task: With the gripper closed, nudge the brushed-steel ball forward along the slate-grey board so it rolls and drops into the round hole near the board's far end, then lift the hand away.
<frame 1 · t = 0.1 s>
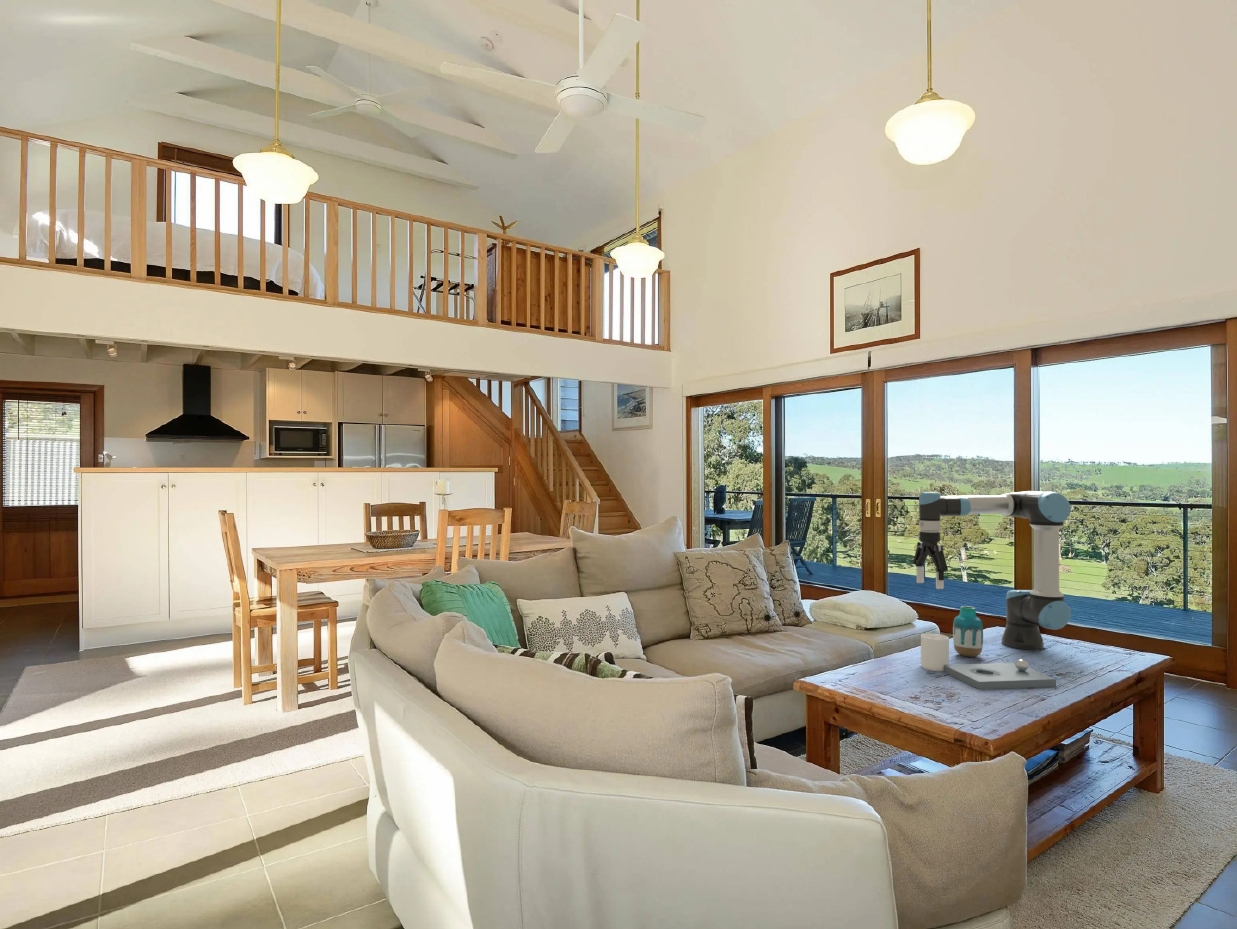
hand: (929, 585, 267), 28 cm above the table, fingers open, 13 cm apart
ball: (1021, 665, 240), point 4 cm above the table, touching deck
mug: (931, 667, 254), on the table
deck: (998, 678, 239), on the table
vase: (968, 656, 269), on the table
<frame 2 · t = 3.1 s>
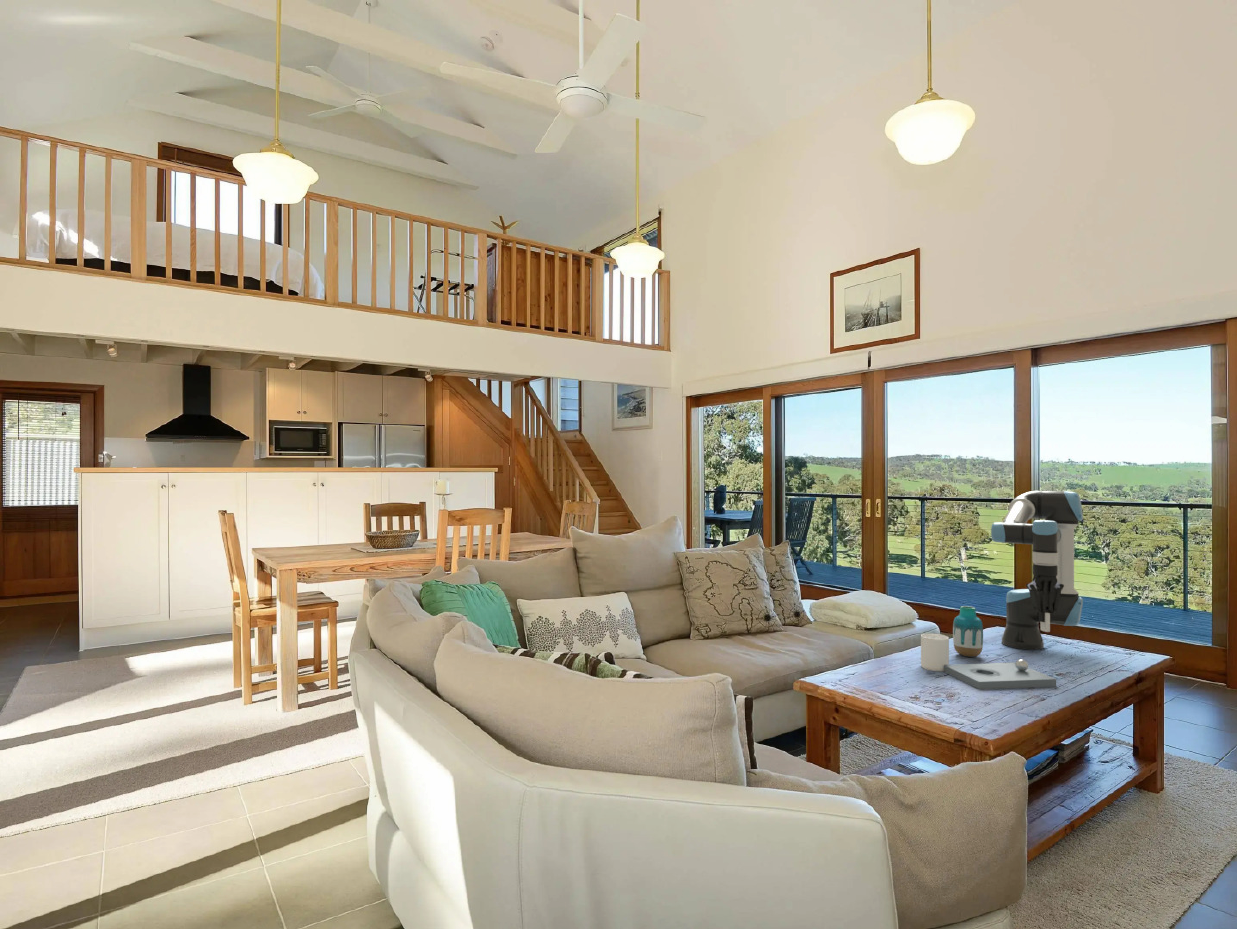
hand: (1045, 631, 241), 16 cm above the table, fingers closed
nothing on the table moved.
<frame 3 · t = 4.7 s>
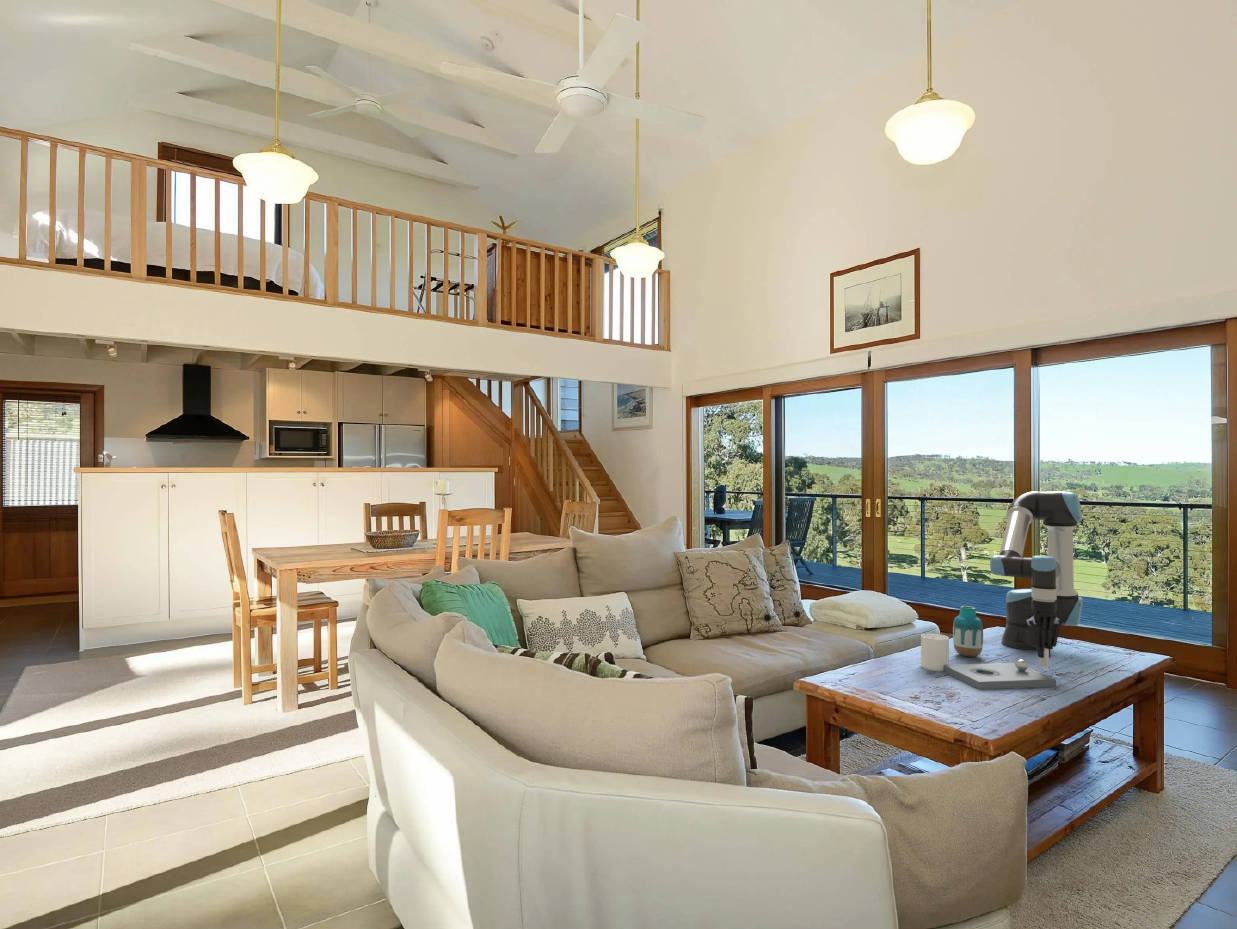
hand: (1044, 666, 241), 4 cm above the table, fingers closed
nothing on the table moved.
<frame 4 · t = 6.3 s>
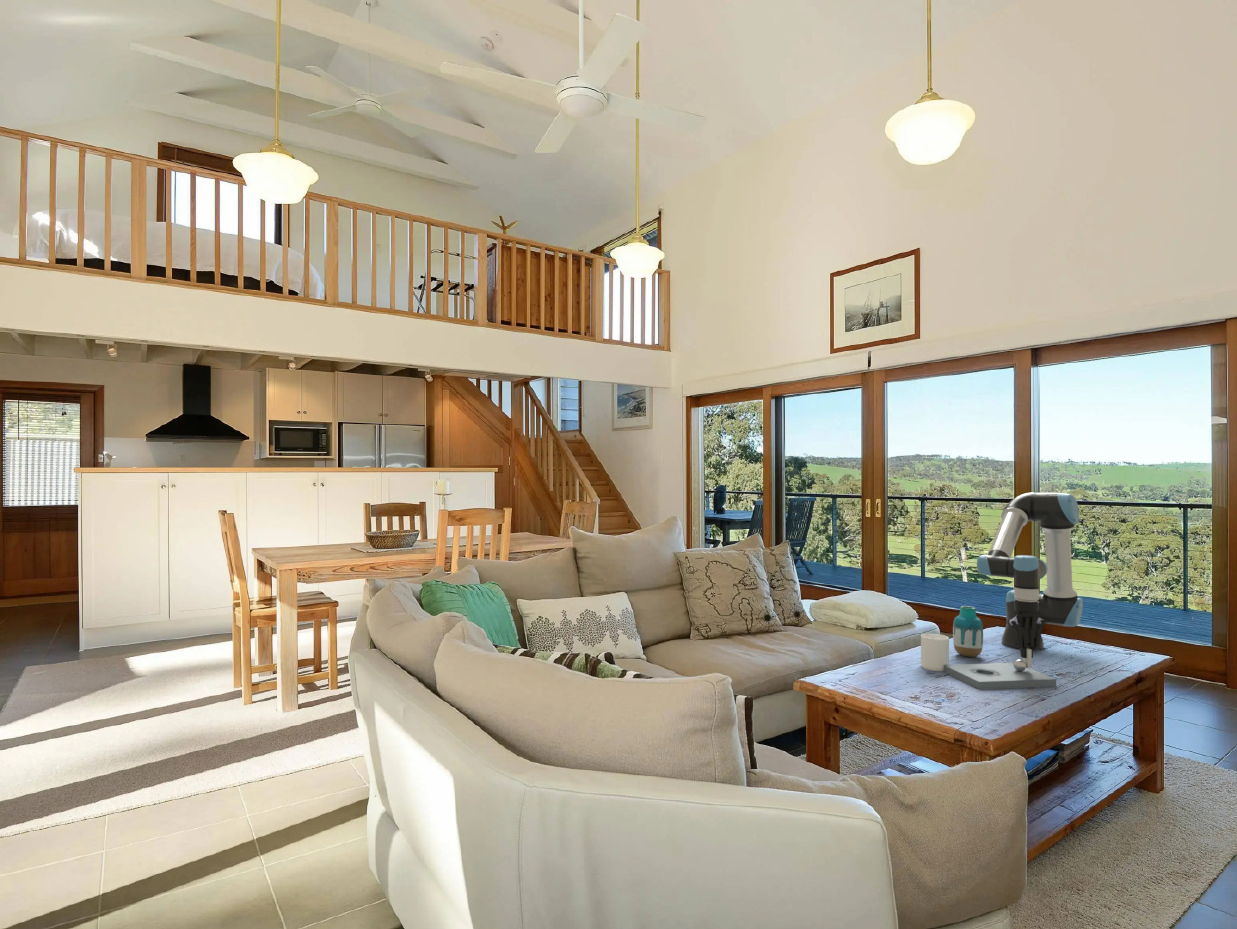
hand: (1027, 667, 240), 4 cm above the table, fingers closed
ball: (1019, 665, 240), point 4 cm above the table, tilted 24°, touching deck, gripper
everything else where it was.
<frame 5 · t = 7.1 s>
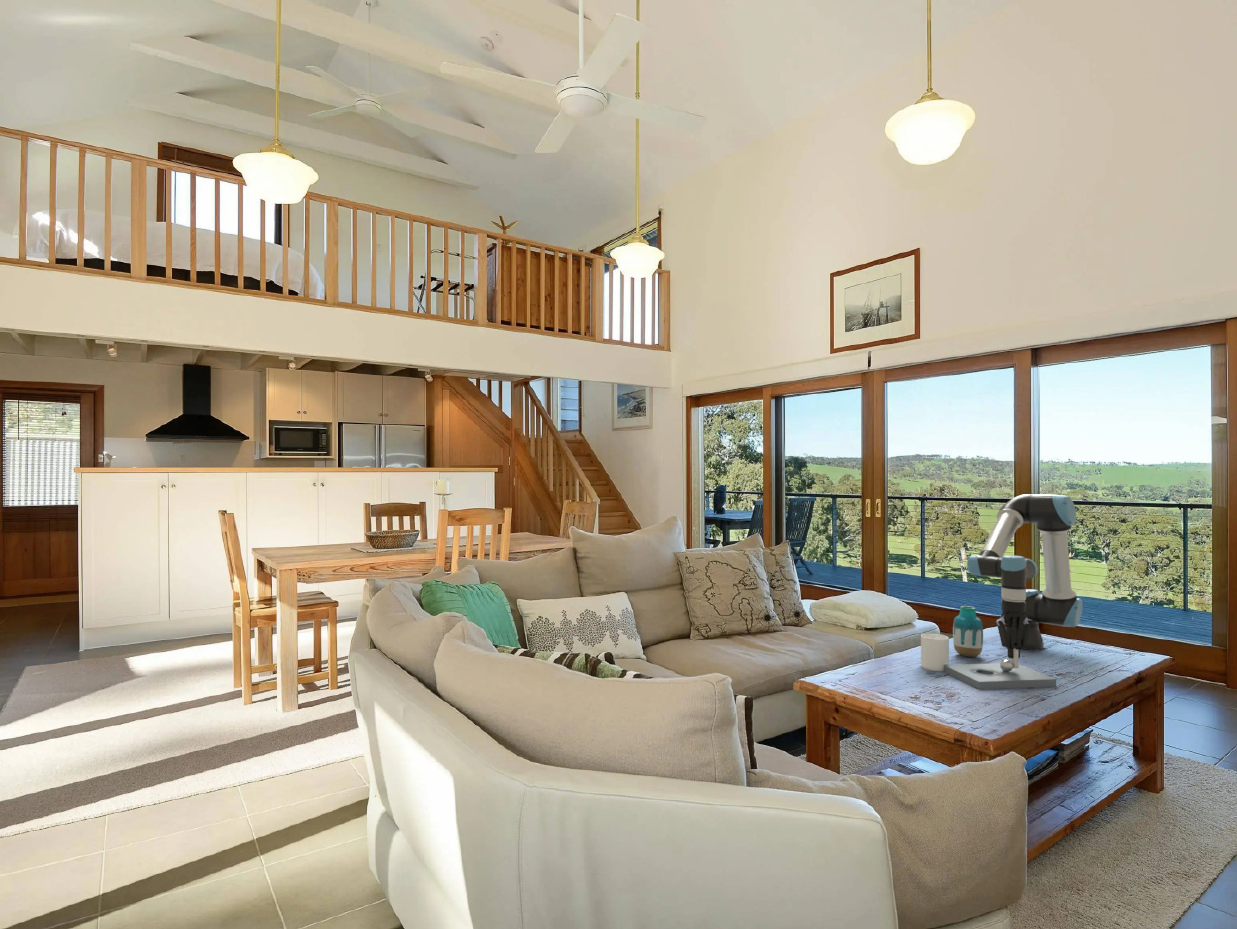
hand: (1013, 667, 240), 4 cm above the table, fingers closed
ball: (1006, 665, 240), point 4 cm above the table, tilted 152°, touching deck
everything else where it was.
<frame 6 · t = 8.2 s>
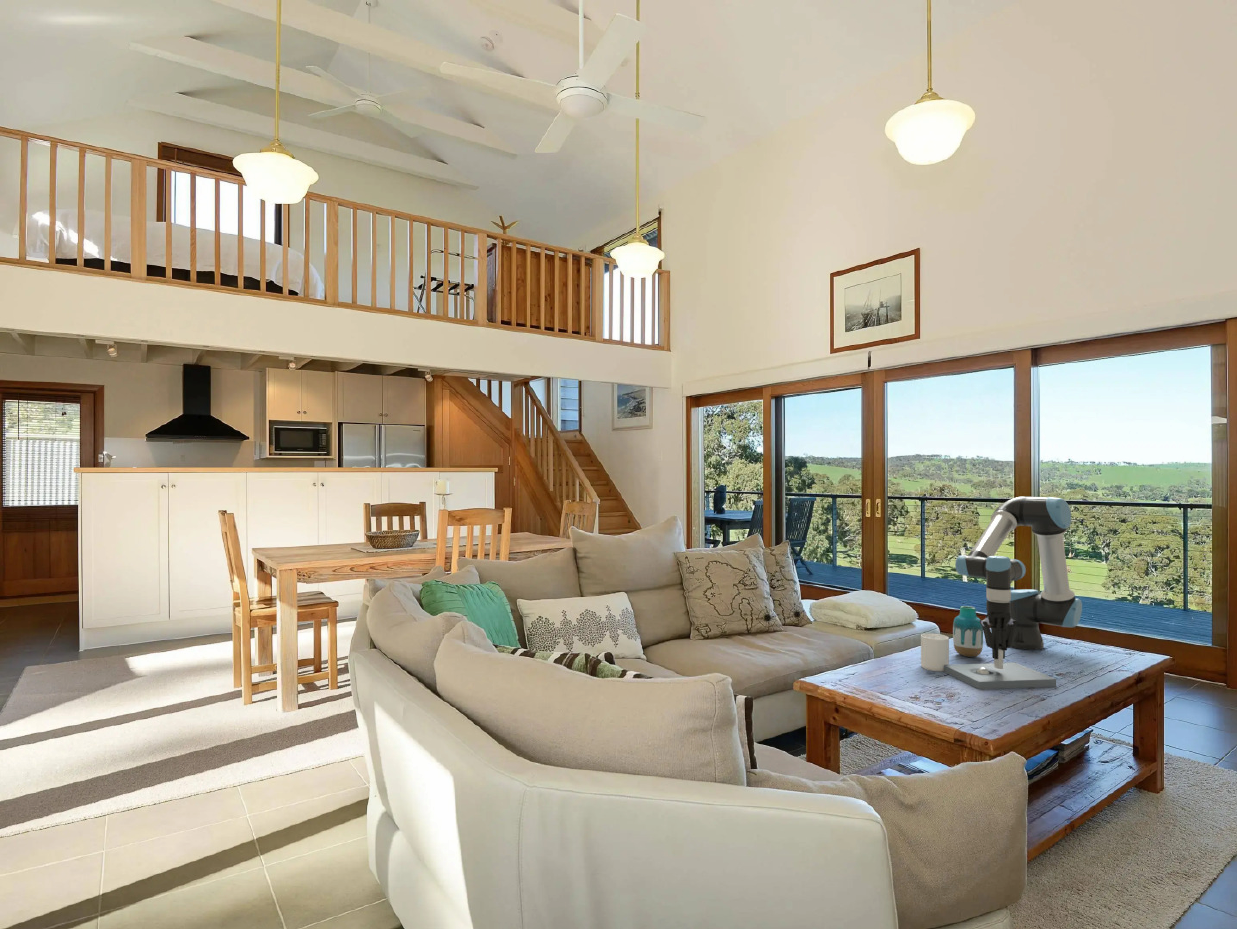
hand: (998, 667, 239), 4 cm above the table, fingers closed
ball: (982, 673, 239), point 2 cm above the table, tilted 72°
everything else where it was.
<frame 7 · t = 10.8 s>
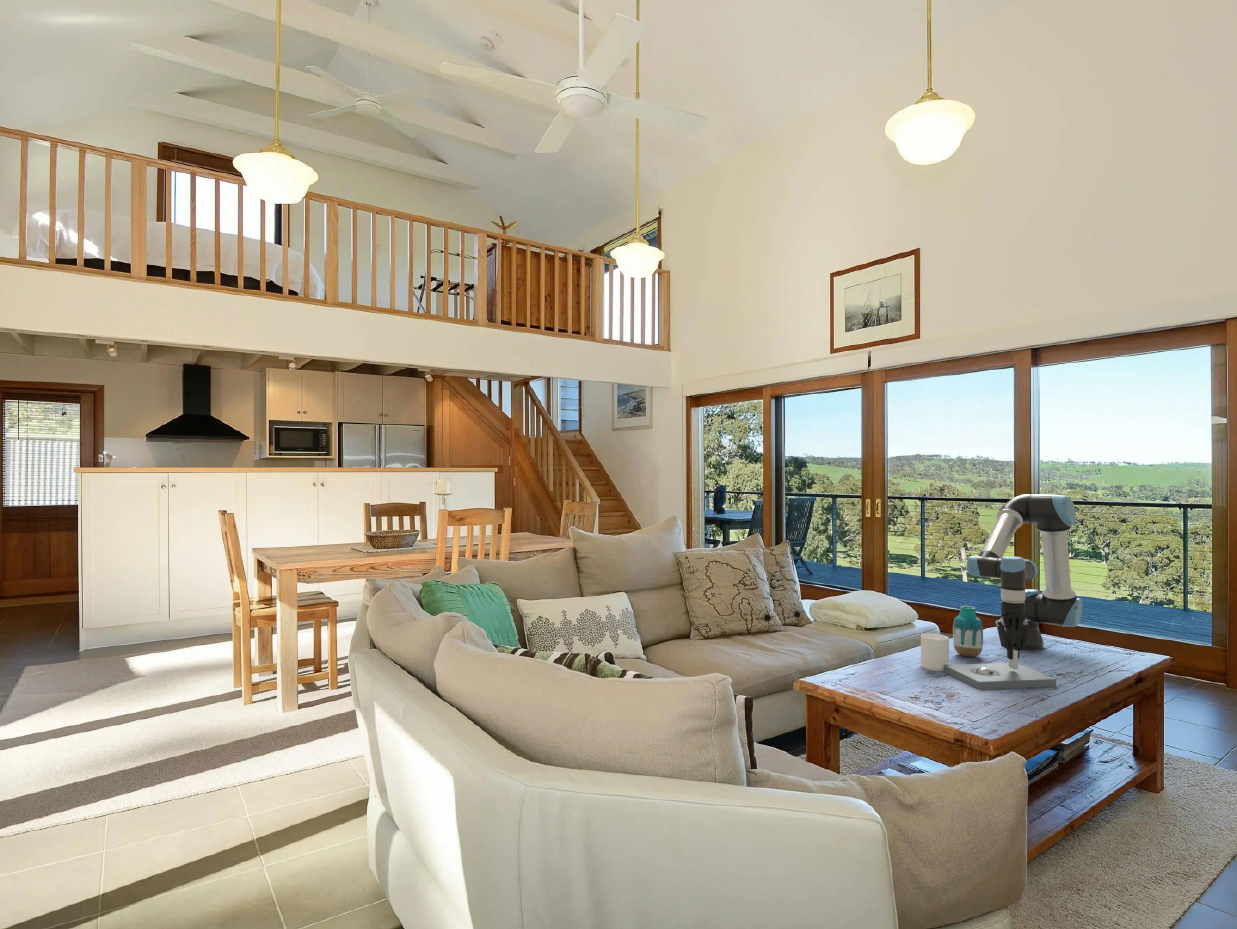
hand: (1013, 668, 240), 4 cm above the table, fingers closed
ball: (983, 673, 239), point 2 cm above the table, tilted 63°
everything else where it was.
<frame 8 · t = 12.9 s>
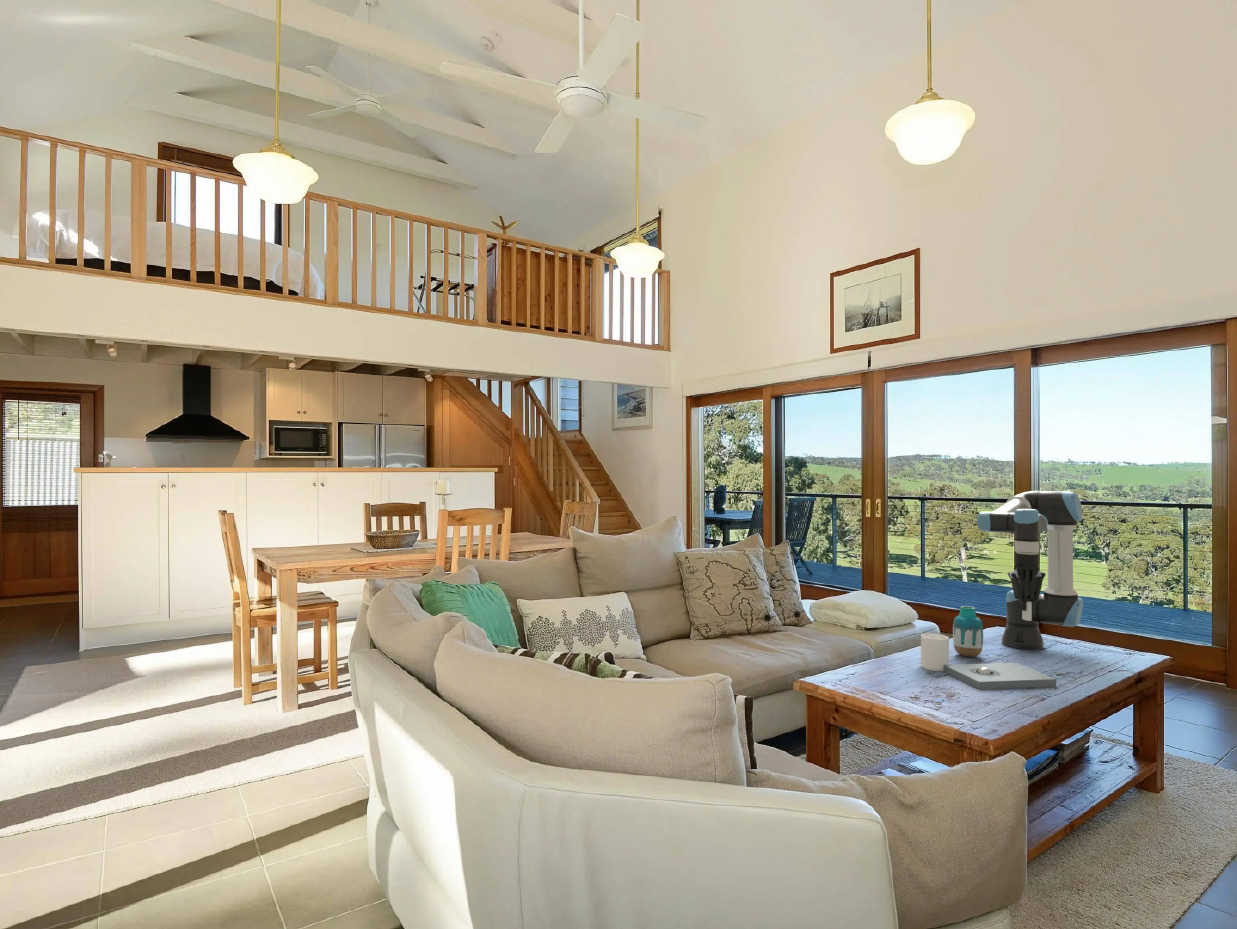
hand: (1026, 619, 241), 20 cm above the table, fingers closed
ball: (984, 673, 239), point 2 cm above the table, tilted 56°
everything else where it was.
at the end: ball 0.2 cm from the target spot in the deck, point 2.0 cm above the deck's base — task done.
